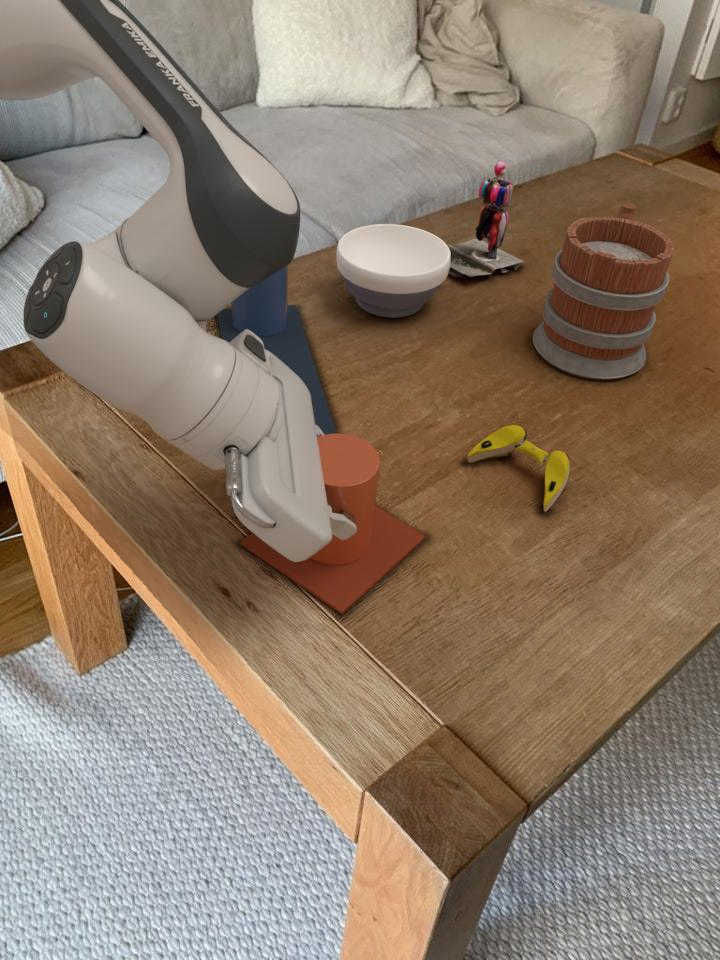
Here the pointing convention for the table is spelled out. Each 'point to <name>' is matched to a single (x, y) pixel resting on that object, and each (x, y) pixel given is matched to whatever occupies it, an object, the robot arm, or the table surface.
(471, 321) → the table surface
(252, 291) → the blue cylinder block
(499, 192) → the statue
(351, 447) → the orange cylinder block
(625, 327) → the mug
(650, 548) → the table surface
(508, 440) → the game controller
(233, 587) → the table surface
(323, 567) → the terracotta mat
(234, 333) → the slate mat
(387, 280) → the bowl
